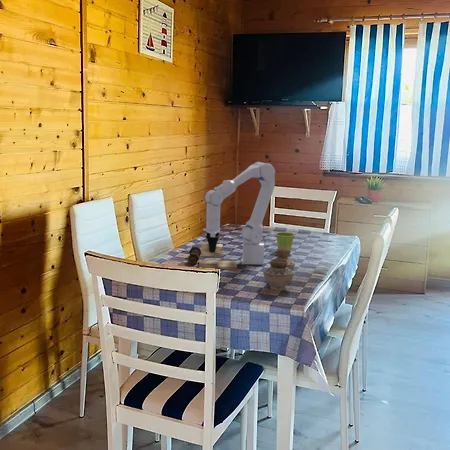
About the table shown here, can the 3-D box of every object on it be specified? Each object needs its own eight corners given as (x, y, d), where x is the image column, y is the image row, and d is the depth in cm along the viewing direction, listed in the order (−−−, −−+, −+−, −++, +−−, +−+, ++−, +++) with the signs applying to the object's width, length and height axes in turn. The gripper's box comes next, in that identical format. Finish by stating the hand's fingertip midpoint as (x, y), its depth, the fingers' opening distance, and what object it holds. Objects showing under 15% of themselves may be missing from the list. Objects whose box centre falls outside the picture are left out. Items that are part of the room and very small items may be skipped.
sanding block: (222, 255, 235) (222, 244, 234) (222, 258, 230) (222, 246, 229) (201, 255, 235) (201, 243, 234) (200, 257, 230) (201, 246, 229)
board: (235, 263, 239) (236, 261, 238) (237, 269, 229) (237, 266, 228) (199, 262, 238) (199, 260, 238) (198, 268, 228) (198, 265, 228)
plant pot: (293, 254, 258) (294, 236, 257) (273, 253, 260) (274, 235, 259) (294, 250, 267) (295, 232, 266) (275, 248, 269) (276, 231, 268)
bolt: (190, 269, 233) (193, 259, 248) (201, 264, 233) (203, 254, 247) (184, 257, 232) (187, 248, 247) (194, 252, 232) (197, 243, 246)
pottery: (296, 276, 221) (297, 247, 219) (291, 294, 197) (293, 262, 195) (268, 274, 223) (269, 245, 221) (260, 291, 199) (262, 259, 197)
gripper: (203, 216, 237) (203, 246, 239) (203, 221, 222) (202, 254, 225) (220, 216, 237) (219, 247, 239) (220, 222, 223) (219, 254, 225)
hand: (212, 250), depth 232 cm, fingers closed on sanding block, 5 cm apart
